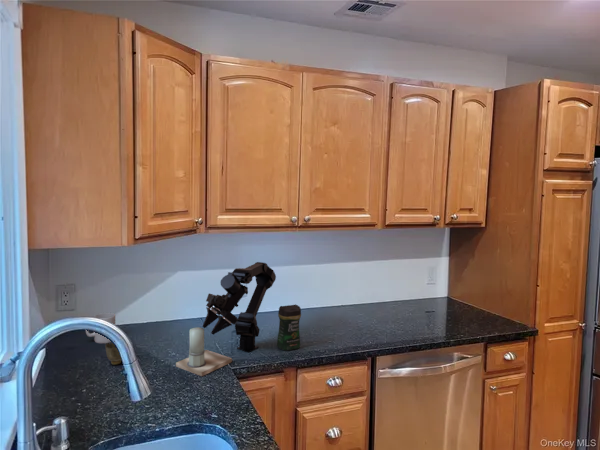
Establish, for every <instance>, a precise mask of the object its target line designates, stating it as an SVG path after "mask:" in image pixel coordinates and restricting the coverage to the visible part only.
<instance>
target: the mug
mask: <svg viewBox="0 0 600 450" xmlns="http://www.w3.org/2000/svg"><path fill="white" fill-rule="evenodd" d="M94 317H96V318H100V319H103V320H106V321H108V322H111V323H113V324H115V325H116V314H115V313H114V312H113V313H112V312H101V313H98V314H95V315H94ZM85 334H86V336H87V337H88V338H94V339H93V340H94V342H95V343H96V344H106V343H108V342H109V343H112V342H111V341H110V340H109V339H107V338H106V337H104V336H102V335H100V334H98V333H95V332H94V331H93V332H92V333H90V331H89V330H88V331H87V330H86V329H85Z"/></svg>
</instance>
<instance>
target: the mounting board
mask: <svg viewBox="0 0 600 450" xmlns="http://www.w3.org/2000/svg"><path fill="white" fill-rule="evenodd" d="M204 350H205V353H204V364H203V365H201V366H191V365H189V356H188V357H186V358H184V359H182V360H179V361H177V362H175V367H176V368H179V369H182V370H184V371H187V372H190V373H192V374H194V375H197V376H200V377H204V376H205V375H208V374H210V373H212V372H214V371H216V370H218V369H221V368H222V367H224V366H226V365H228V364H231V363H232V362H233V358H232V357H230V356H226V355H224V354H220V353H218V352H214V351H211V350H208V349H204Z"/></svg>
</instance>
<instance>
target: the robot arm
mask: <svg viewBox="0 0 600 450" xmlns="http://www.w3.org/2000/svg"><path fill="white" fill-rule="evenodd" d="M254 277H255V283H256V286H255V287H254V288H255V289H254V290H253V293H252V296H251V298H250V301H249V303H248V305H247V308H246V310H245V311H244V312H243V311H240V312H239V315H238V316H236V315H235V314H233V313H232V311H234V309H235V307H236V308H238V307H239V304H238V303H239V302H240V300H242V299H243V297H244V296H245V295H248V293H249V287H248V286H246V285H249V284H250V283H252V281H253V278H254ZM276 278H277V276H276V274H275V271H274V270H273V269H272V268H271V267H270V266H268V263H266V262H262V261H257V262H255V263H254V264H251V265H249V266H247V267H243V268H242V267H238V268H237V267H236V268H234V269H233V271H232V272H228V271H227V274H226V275H224V276H223V277H222V278H221V280H220V286H221V287H222V289H224V291H226V292H227V293H226V294H222V295H219V294H213V293H208V294H207V297H206V300H205V302H207V304H206V305H205V306H206V310H207V312H206V316H205V320H204V322H203V325H202V328H203V329H206V328H207V327H208V326H210V325H211V324H212V323H214V322H215V321H216V320H217V319H218V320H217V322H216V324H215V326H214V327H213V328H212V330H211V332H210V333H211V334H212V335H215V334H217V333H220V332H221V331H222V330H224V329H226V328H229V327H230V326H231V327H232V326H234V329H235V334H236V336H239V346H237V347H236V349H237V350H239V351H243V352H245V353H250V352H252V351H254V350H256V349H258V348H259V347H258V345H256V337H259V334H260V328H259V326H258V321H257V315H258V312H259V311H260V307H261V304H262V303H263V301H264V297H265V295H266V292H267V291H268V290H269V289H270V288H272V286H273V285H274V282H275V281H276V280H277V279H276ZM243 284H246V285H243Z"/></svg>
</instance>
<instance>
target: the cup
mask: <svg viewBox="0 0 600 450" xmlns="http://www.w3.org/2000/svg"><path fill="white" fill-rule="evenodd" d="M104 346H105V347H104V348H105V353H106V357H107V359H108V360H109V361H110V364H111V365H112V366H118V365H120V364H121V363H122V359H121V357H120V355H119V352H118V350H117V348H116V347H115V345H114V344H113V343H112V342H108V343H105V344H104Z"/></svg>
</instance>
